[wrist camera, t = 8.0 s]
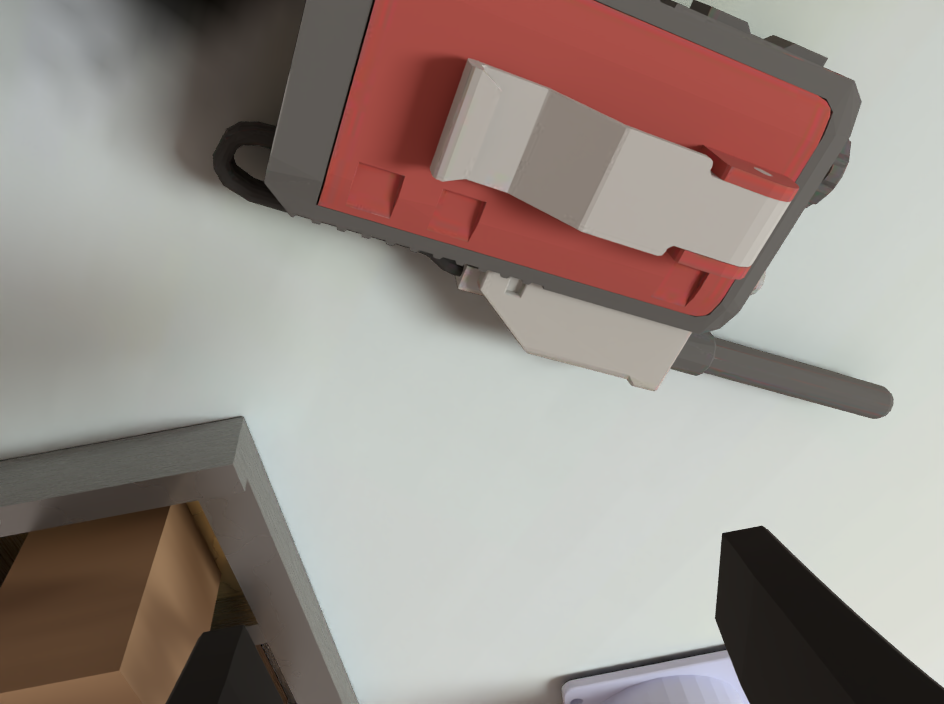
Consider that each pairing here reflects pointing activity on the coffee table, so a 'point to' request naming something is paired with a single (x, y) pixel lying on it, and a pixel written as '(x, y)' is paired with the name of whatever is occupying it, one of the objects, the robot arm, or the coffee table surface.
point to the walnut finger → (105, 609)
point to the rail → (220, 521)
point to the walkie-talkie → (569, 168)
